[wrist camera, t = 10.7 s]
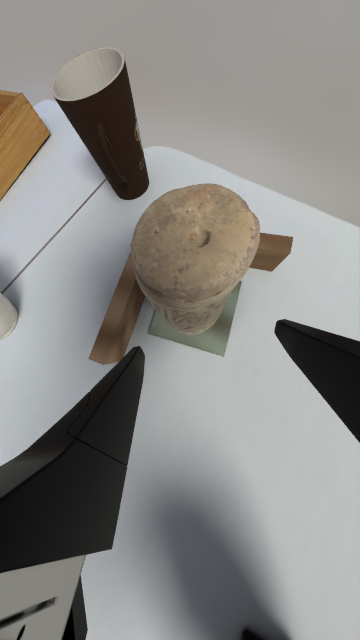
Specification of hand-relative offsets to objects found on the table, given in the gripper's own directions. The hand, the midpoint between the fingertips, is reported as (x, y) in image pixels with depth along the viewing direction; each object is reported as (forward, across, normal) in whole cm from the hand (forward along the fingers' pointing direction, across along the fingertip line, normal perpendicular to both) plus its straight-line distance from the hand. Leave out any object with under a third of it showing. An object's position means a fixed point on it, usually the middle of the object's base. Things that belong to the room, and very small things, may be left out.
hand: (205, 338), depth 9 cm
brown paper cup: (+26, +7, -14) cm, 30 cm away
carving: (+9, 0, +2) cm, 9 cm away
